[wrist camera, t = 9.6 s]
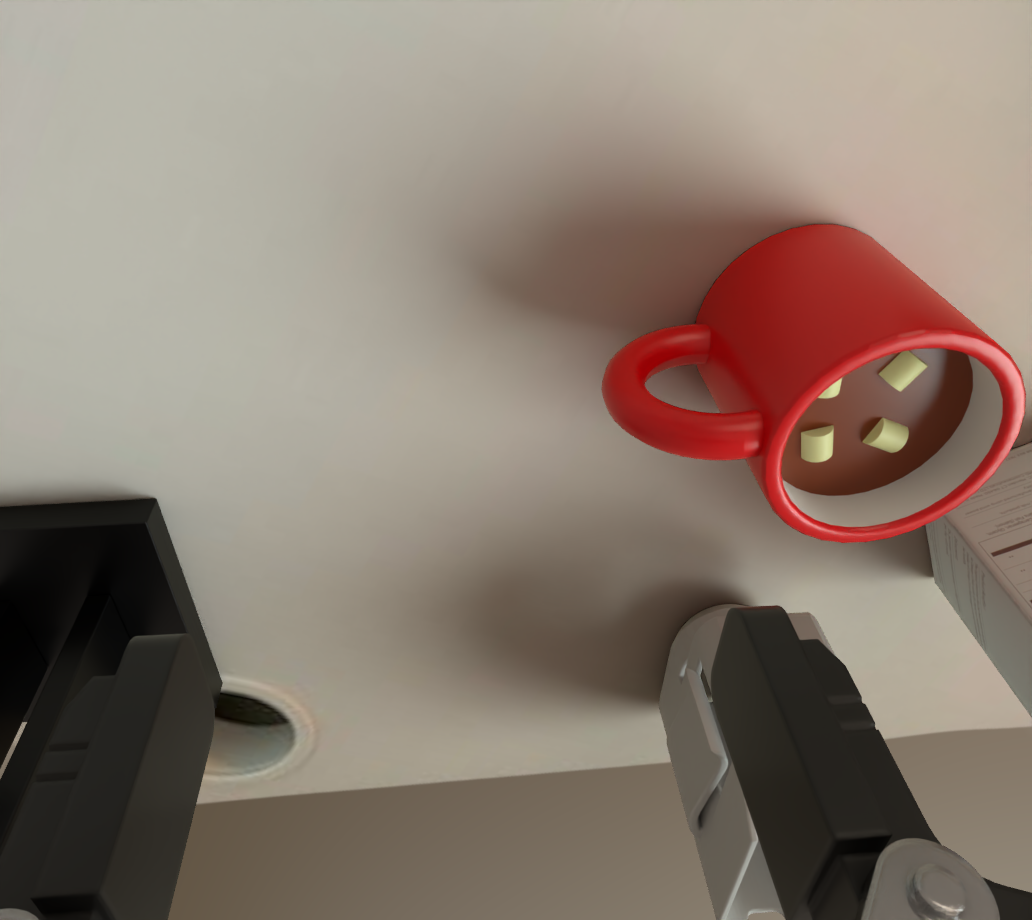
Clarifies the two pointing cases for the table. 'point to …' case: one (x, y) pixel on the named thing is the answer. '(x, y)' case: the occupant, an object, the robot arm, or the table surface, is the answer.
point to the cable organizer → (716, 770)
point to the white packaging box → (993, 568)
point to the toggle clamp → (78, 616)
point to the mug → (832, 387)
